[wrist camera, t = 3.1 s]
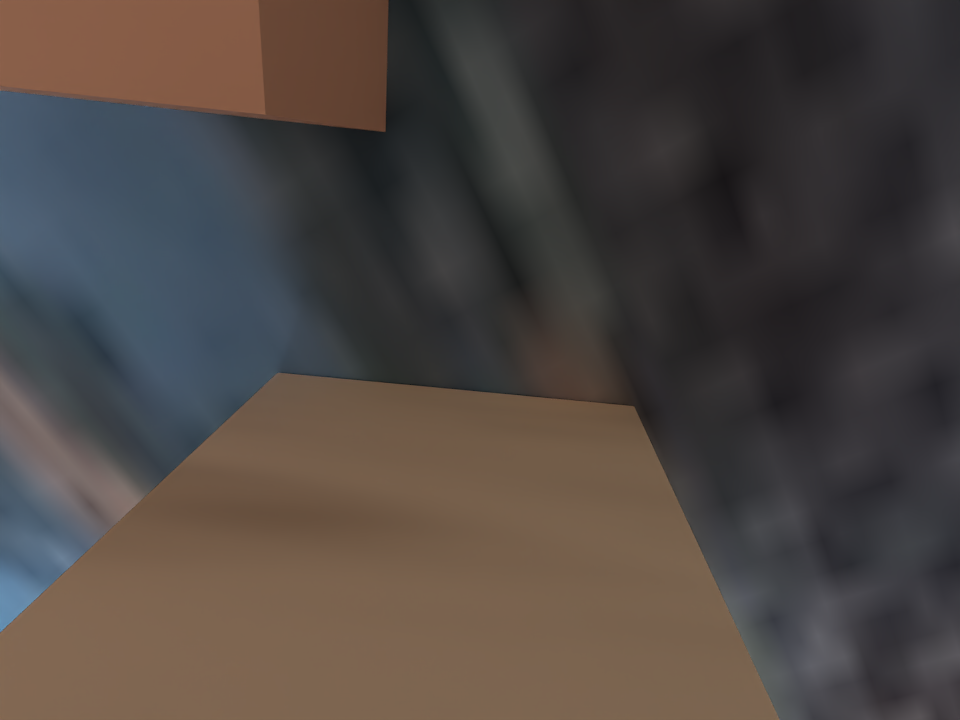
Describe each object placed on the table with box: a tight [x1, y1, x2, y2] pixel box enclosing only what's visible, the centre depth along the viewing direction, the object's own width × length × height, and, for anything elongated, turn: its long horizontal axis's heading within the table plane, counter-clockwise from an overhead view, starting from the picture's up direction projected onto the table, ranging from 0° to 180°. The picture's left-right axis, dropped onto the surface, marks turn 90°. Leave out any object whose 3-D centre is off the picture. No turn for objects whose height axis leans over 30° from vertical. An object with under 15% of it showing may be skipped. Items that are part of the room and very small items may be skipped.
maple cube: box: [0, 373, 779, 720], centre depth 7 cm, size 6×6×6 cm
